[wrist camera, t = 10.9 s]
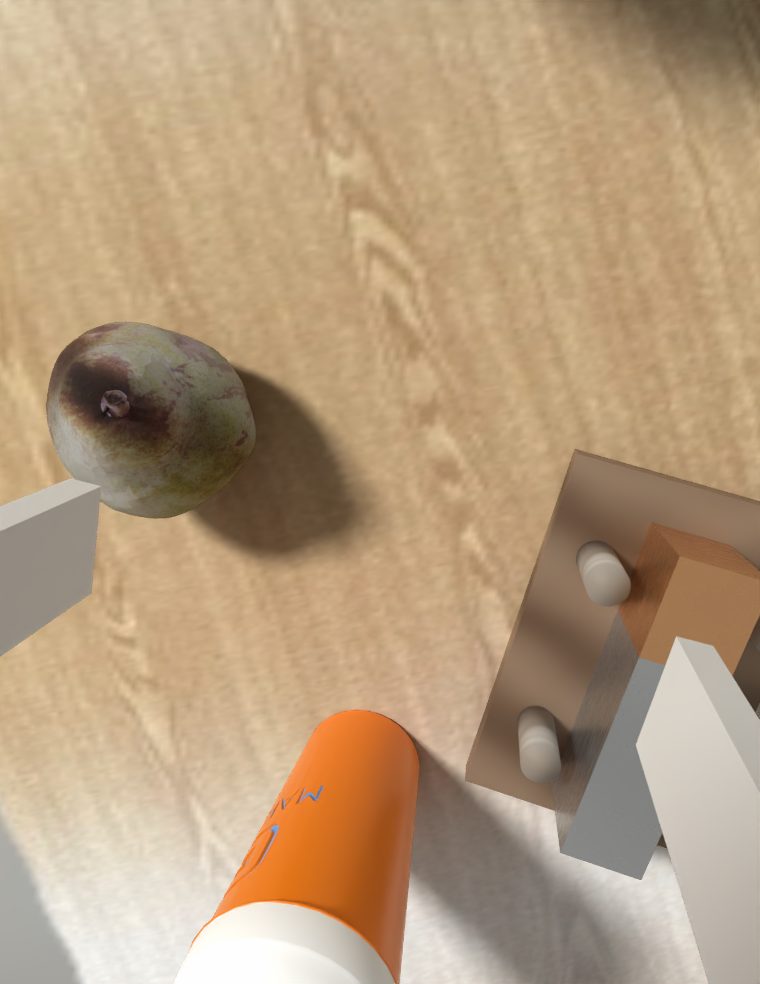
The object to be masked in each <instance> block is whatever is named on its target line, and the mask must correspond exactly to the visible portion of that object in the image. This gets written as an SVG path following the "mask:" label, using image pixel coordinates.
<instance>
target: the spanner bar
mask: <svg viewBox="0 0 760 984" xmlns="http://www.w3.org/2000/svg"><path fill="white" fill-rule="evenodd" d="M630 582H631V589H630V593H629V595H628V597H627V598H626V599H625V600H624V601H623V602H622V603H620V605H619V608H618V610H617V613H616V616H615V618H614V621H613V623H612V626H611V629H610V631H609V634H608V636H607V639H606V642H605V644H604V647H603V649H602V652H601V655H600V657H599V660H598V662H597V665H596V667H595V670H594V673H593V675H592V678H591V680H590V683H589V686H588V688H587V691H586V693H585V696H584V699H583V701H582V704H581V706H580V709H579V712H578V714H577V717H576V719H575V722H574V724H573V727H572V730H571V732H570V735H569V737H568V740H567V743H566V745H565V748H564V750H563V753H562V756H561V758H560V761H561V771H560V773H559V775H558V776H557V777H556V778H555V779H554V780H552V781H551V784H552V792H553V799H554V807H555V815H556V823H557V831H558V838H559V846H560V853H563V854H566V855H568V856H571V857H574V858H577V859H580V860H583V861H586V862H589V863H592V864H595V865H598V866H601V867H604V868H607V869H610V870H613V871H616V872H618V873H621V874H624V875H627V876H630V877H633V878H636V879H639V880H641V879H642V877H643V875H644V873H645V870H646V868H647V866H648V864H649V861H650V859H651V857H652V855H653V852H654V850H655V848H656V846H657V843H658V841H659V839H660V837H661V835H662V829H661V826H660V823H659V819H658V816H657V813H656V810H655V806H654V803H653V800H652V797H651V793H650V790H649V787H648V784H647V780H646V777H645V774H644V770H643V767H642V764H641V761H640V757H639V754H638V751H637V748H636V743H637V740H638V738H639V735H640V732H641V730H642V727H643V724H644V722H645V719H646V716H647V713H648V711H649V708H650V705H651V703H652V700H653V697H654V695H655V692H656V689H657V687H658V684H659V681H660V679H661V676H662V673H663V671H664V668H665V665H666V662H667V660H668V657H669V654H670V652H671V649H672V646H673V644H674V641H675V638H676V636H677V637H681V638H685V639H689V640H693V641H697V642H700V643H704V644H708V645H712V646H714V648H715V649H716V651H717V653H718V654H719V656H720V657H721V659H722V661H723V662H724V664H725V665H726V667H727V669H728V670H729V672H730V673H731V675H732V676H733V674H734V671H735V669H736V667H737V665H738V662H739V660H740V658H741V656H742V653H743V651H744V649H745V647H746V644H747V642H748V640H749V638H750V636H751V633H752V631H753V629H754V627H755V624H756V622H757V620H758V618H759V615H760V571H759V570H758V569H757V568H755V567H754V566H753V565H752V564H751V563H750V562H749V561H748V560H746V559H745V558H744V557H743V556H742V555H741V554H740V553H739V552H738V551H736V550H735V549H734V548H733V547H732V546H731V545H728V544H725V543H721V542H718V541H714V540H711V539H707V538H704V537H701V536H697V535H694V534H690V533H687V532H683V531H680V530H677V529H673V528H670V527H666V526H663V525H659V524H656V523H653V522H651V525H650V528H649V530H648V533H647V535H646V538H645V541H644V543H643V546H642V548H641V551H640V554H639V556H638V559H637V561H636V564H635V566H634V569H633V572H632V574H631V577H630Z"/></svg>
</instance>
